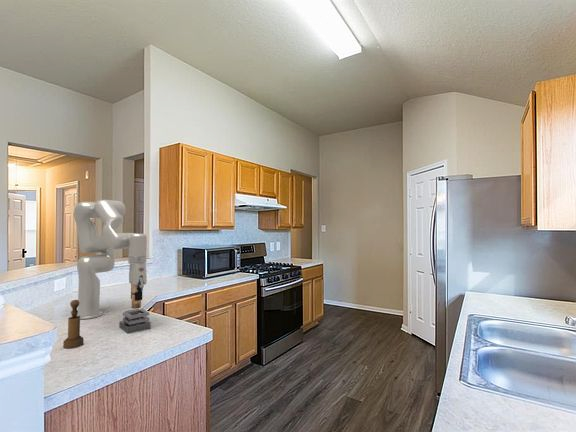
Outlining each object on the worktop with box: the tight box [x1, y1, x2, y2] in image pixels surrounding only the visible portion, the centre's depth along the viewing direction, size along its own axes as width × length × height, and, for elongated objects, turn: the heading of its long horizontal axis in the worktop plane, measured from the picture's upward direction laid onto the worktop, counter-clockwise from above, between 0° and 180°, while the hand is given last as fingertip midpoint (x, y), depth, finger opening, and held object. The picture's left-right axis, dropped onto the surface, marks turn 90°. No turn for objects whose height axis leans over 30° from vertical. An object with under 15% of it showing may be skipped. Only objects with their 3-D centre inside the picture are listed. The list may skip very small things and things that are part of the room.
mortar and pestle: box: [62, 299, 84, 349], centre depth 123 cm, size 7×6×18 cm
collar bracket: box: [118, 308, 151, 335], centre depth 144 cm, size 11×10×7 cm
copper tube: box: [131, 284, 142, 310], centre depth 144 cm, size 4×4×11 cm
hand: (136, 299), depth 144 cm, fingers closed on copper tube, 4 cm apart
